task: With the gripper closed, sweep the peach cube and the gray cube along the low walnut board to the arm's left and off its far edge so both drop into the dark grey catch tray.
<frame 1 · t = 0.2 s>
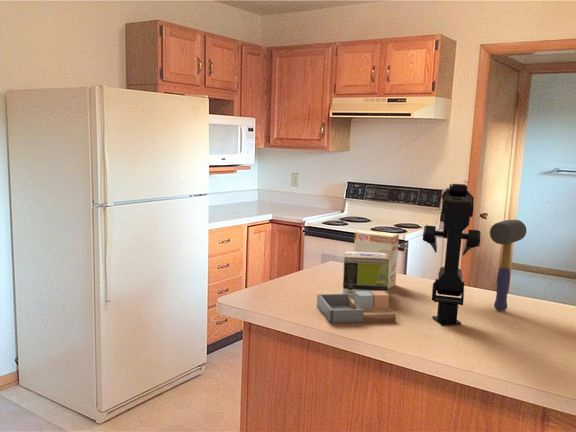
hand: (449, 253, 189), 15 cm above the counter, tool tilted 30°, fingers open, 9 cm apart
tray: (338, 314, 165), on the counter
board: (370, 313, 167), on the counter
rubber mallet: (500, 311, 174), on the counter
tea box: (363, 296, 185), on the counter
gray cube: (363, 305, 166), point 2 cm above the counter, touching board
coffeecake box: (373, 283, 201), on the counter
peach cube: (378, 305, 167), point 2 cm above the counter, touching board
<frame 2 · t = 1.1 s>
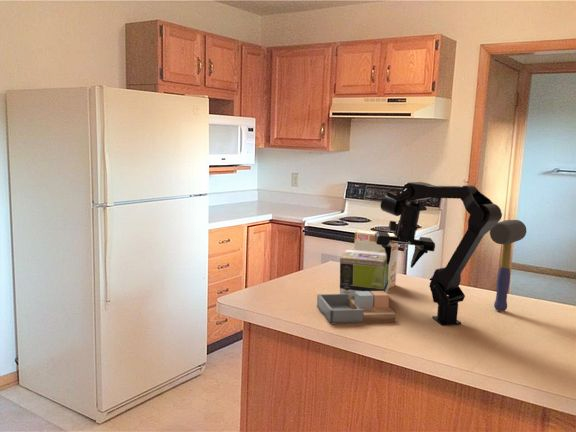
hand: (399, 265, 175), 13 cm above the counter, tool pointing down, fingers open, 8 cm apart
tea box: (363, 295, 183), on the counter, touching gripper
everything else where it was.
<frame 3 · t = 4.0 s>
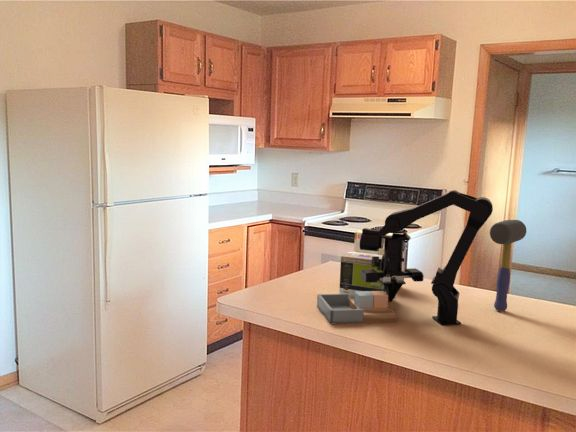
hand: (390, 301, 167), 4 cm above the counter, tool pointing down, fingers closed
tea box: (363, 298, 183), on the counter
peach cube: (377, 305, 167), point 3 cm above the counter, touching board, gripper
everything else where it was.
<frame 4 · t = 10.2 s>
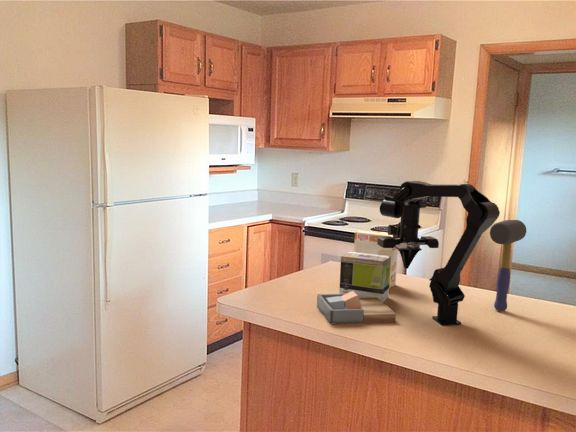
hand: (406, 268, 172), 13 cm above the counter, tool pointing down, fingers closed
gray cube: (335, 311, 164), point 1 cm above the counter, tilted 7°, touching peach cube, tray
peach cube: (352, 307, 165), point 2 cm above the counter, tilted 24°, touching board, gray cube
everything else where it was.
at the end: peach cube inside the target area (5.3 cm from its centre), point 2.1 cm above the counter; gray cube inside the target area (0.2 cm from its centre), point 0.9 cm above the counter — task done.
